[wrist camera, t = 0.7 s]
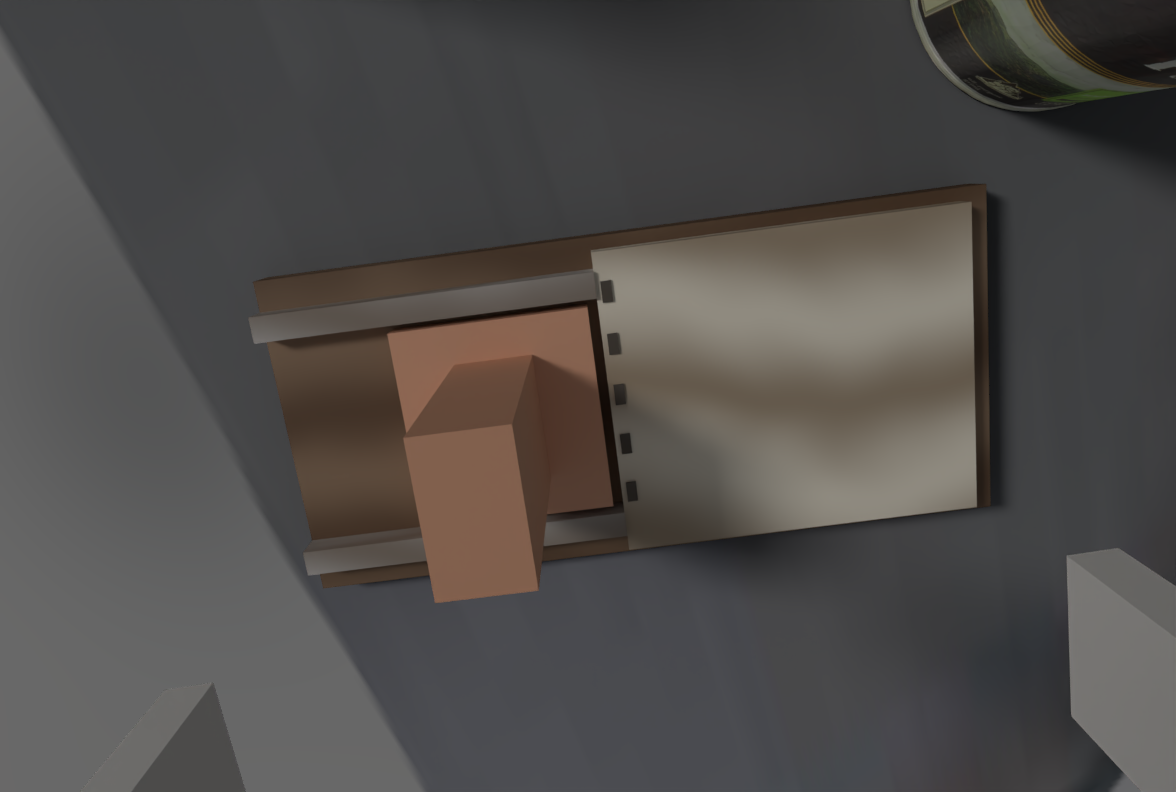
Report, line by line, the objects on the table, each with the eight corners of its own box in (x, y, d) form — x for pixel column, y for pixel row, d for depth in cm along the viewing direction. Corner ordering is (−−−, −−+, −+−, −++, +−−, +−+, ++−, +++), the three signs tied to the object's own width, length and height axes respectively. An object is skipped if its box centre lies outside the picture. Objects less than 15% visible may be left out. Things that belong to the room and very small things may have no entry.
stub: (392, 329, 33) (308, 395, 23) (587, 303, 33) (588, 359, 23) (429, 519, 35) (366, 658, 25) (612, 496, 35) (624, 627, 24)
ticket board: (267, 277, 34) (240, 285, 31) (968, 184, 33) (1001, 184, 30) (333, 572, 37) (314, 602, 34) (974, 493, 36) (1004, 517, 34)
